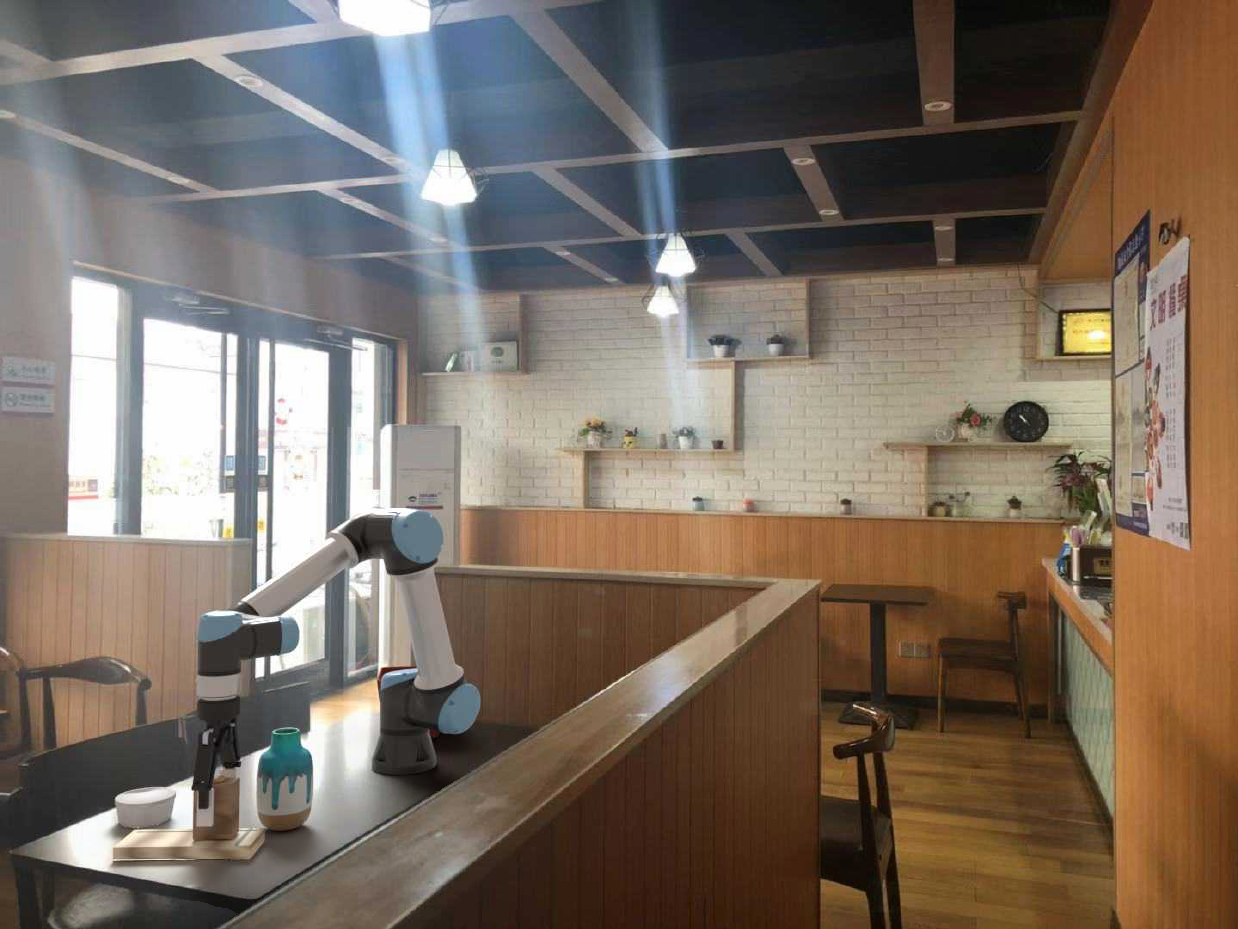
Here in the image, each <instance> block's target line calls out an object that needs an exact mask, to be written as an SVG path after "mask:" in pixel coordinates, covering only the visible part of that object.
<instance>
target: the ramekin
mask: <svg viewBox="0 0 1238 929" xmlns="http://www.w3.org/2000/svg"><path fill="white" fill-rule="evenodd" d="M176 798H177V791H176V790H175V789H173V788H171V787H165V786H151V787H142V788H136V789H131V790H128V791H124V792H122V793H120V794H118V795H116V796H115V799H114V805H115V807H116V816H117V821H118V823H119V825H121V827H123V826H126V827H125V828H127V827H135V828H134V829H138V828H137V827H146V828H149V827H148V826H152V827H154V826H153V825H156V826H158V825H157V824H159V825H162V824H164V823H165V822H168V820H170V818H171V817H172V815H173V812H174V805H175V799H176ZM163 822H164V823H163ZM161 823H162V824H161Z"/></svg>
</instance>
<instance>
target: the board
mask: <svg viewBox="0 0 1238 929" xmlns="http://www.w3.org/2000/svg"><path fill="white" fill-rule="evenodd" d="M265 828H266V827H246V828H245V827H244V828H243V827H239V832H238V833H237V834H236V835H235V836H234V837H233V838H232V839H205V840H193V828H170V829H169V828H166V829H165V828H163V829H161V828H160V829H159V828H157V829H156V828H155V829H133V830H132V831H131V832H130V833H129V834H128V835H126V836H125V837H123V839H121V840H120V841H119V842H118V843H117V844H116V845H114V846H113V847H112V860H113V859H226V860H225V861H228V860H227V859H230V861H232V860H233V859H234V861H235V860H241V859H242V860H243V859H244V860H251V859H252V857H253V856H254V855H255V854H256V852H257V851H258V850H259V849H260V847H261V846H262V845H263V844H264V842H265V841H266V840H265V838H266V837H265V836H266V834H265V832H266V829H265Z"/></svg>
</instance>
